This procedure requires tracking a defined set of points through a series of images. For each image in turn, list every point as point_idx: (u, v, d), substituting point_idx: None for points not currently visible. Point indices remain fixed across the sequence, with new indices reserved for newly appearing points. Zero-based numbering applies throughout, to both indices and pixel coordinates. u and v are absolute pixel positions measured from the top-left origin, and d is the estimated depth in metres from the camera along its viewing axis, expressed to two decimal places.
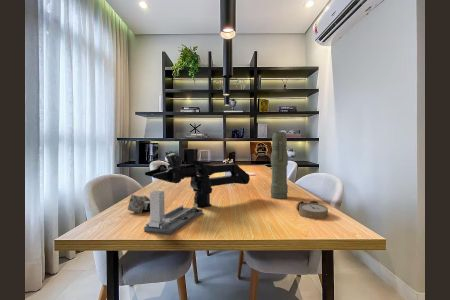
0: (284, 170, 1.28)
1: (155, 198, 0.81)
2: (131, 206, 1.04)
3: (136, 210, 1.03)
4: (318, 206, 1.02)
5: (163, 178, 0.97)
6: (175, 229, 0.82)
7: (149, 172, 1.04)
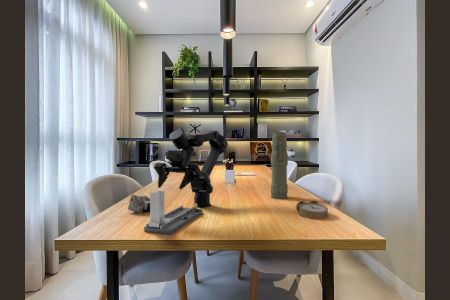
0: (284, 170, 1.28)
1: (155, 198, 0.81)
2: (131, 206, 1.04)
3: (136, 210, 1.03)
4: (318, 206, 1.02)
5: (187, 182, 0.92)
6: (175, 229, 0.82)
7: (160, 182, 0.93)
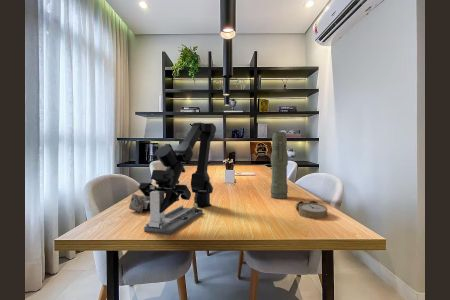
0: (284, 170, 1.28)
1: (155, 198, 0.81)
2: (132, 205, 1.05)
3: (137, 209, 1.04)
4: (317, 206, 1.02)
5: (169, 204, 0.84)
6: (175, 229, 0.82)
7: None
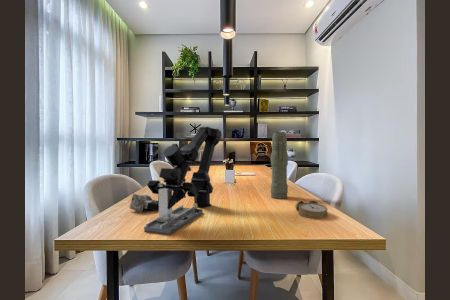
0: (284, 170, 1.28)
1: (163, 195, 0.86)
2: (133, 205, 1.06)
3: (137, 209, 1.05)
4: (317, 206, 1.02)
5: (176, 201, 0.89)
6: (175, 229, 0.82)
7: None
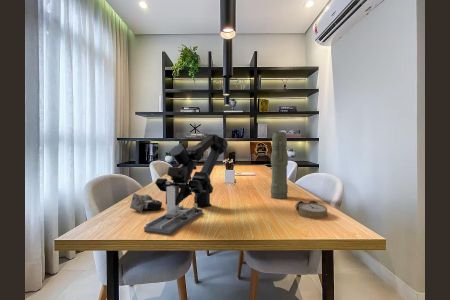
0: (284, 170, 1.28)
1: (171, 192, 0.91)
2: (133, 204, 1.06)
3: (137, 208, 1.05)
4: (317, 206, 1.03)
5: (183, 198, 0.94)
6: (175, 229, 0.82)
7: None
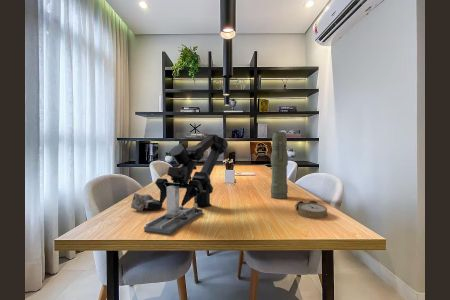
0: (284, 170, 1.28)
1: (171, 192, 0.91)
2: (134, 204, 1.07)
3: (138, 208, 1.06)
4: (317, 206, 1.03)
5: (189, 198, 0.93)
6: (175, 229, 0.82)
7: (162, 198, 0.94)
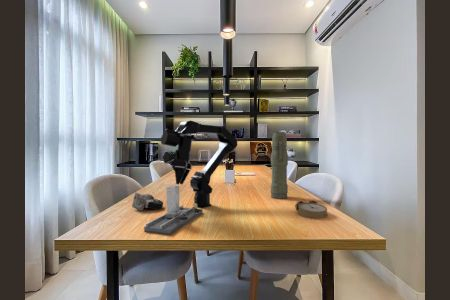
0: (284, 170, 1.28)
1: (171, 192, 0.91)
2: (134, 203, 1.08)
3: (138, 208, 1.07)
4: (317, 206, 1.03)
5: (180, 175, 1.00)
6: (175, 229, 0.82)
7: (181, 180, 1.10)
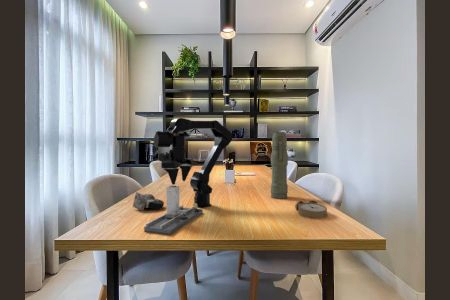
0: (284, 170, 1.28)
1: (171, 192, 0.91)
2: (135, 203, 1.08)
3: (139, 207, 1.07)
4: (317, 206, 1.03)
5: (174, 175, 1.01)
6: (175, 229, 0.82)
7: (183, 177, 1.12)
